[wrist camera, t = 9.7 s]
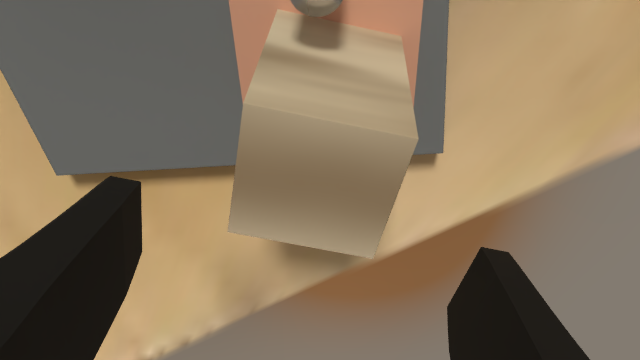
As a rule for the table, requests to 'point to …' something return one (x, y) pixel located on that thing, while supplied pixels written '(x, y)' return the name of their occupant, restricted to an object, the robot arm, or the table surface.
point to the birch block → (323, 136)
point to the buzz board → (178, 74)
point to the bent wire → (316, 7)
